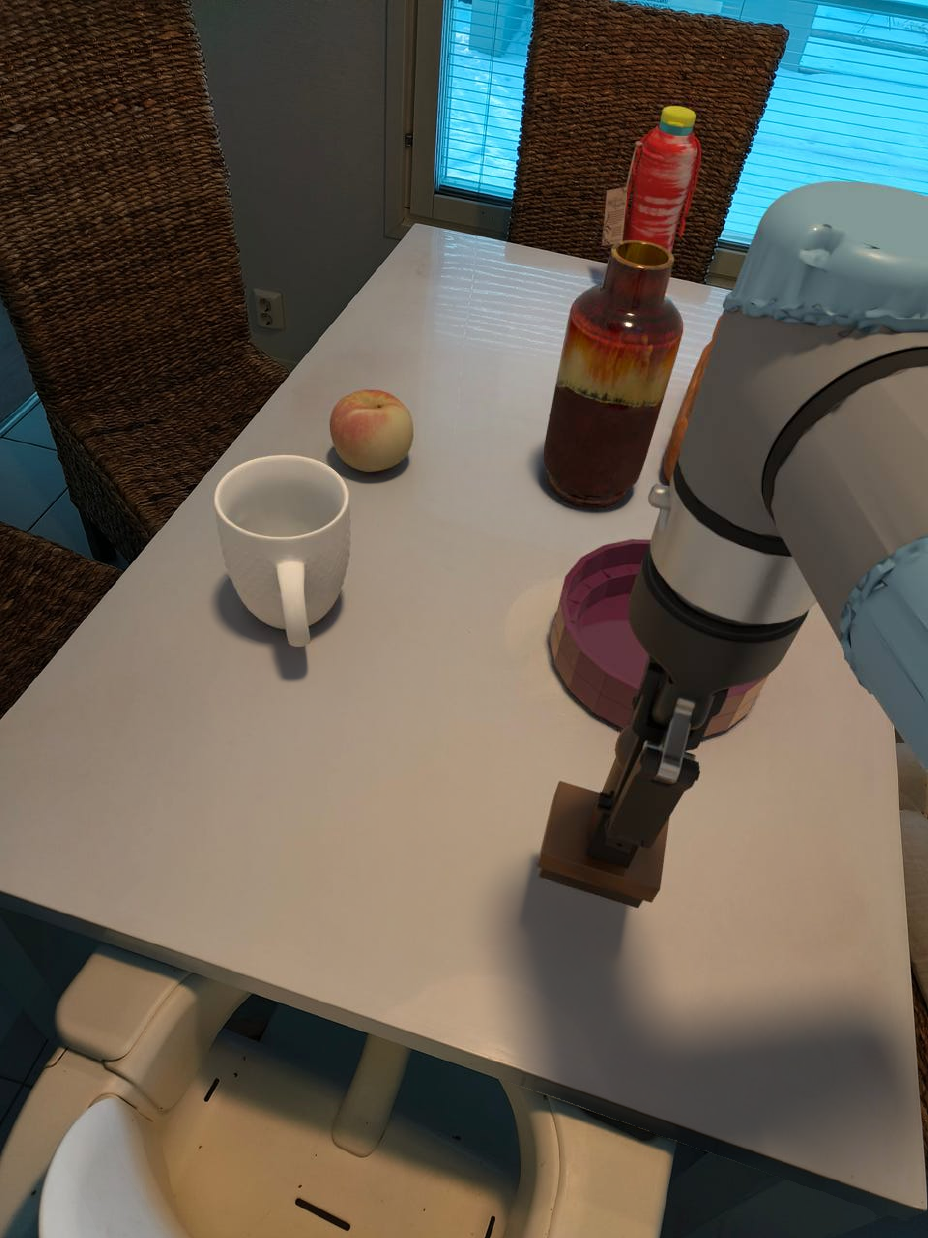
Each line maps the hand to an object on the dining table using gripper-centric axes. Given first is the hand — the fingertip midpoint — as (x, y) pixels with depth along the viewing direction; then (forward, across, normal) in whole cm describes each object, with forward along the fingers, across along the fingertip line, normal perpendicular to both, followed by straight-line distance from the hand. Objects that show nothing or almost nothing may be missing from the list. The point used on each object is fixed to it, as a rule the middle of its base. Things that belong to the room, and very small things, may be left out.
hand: (613, 832), depth 55 cm
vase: (+10, -48, -10) cm, 51 cm away
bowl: (+10, -25, +1) cm, 27 cm away
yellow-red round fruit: (+10, -42, -33) cm, 55 cm away
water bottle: (+11, -98, -14) cm, 100 cm away
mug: (+10, -18, -31) cm, 38 cm away
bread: (+10, -63, +5) cm, 64 cm away
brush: (+4, 0, 0) cm, 4 cm away
